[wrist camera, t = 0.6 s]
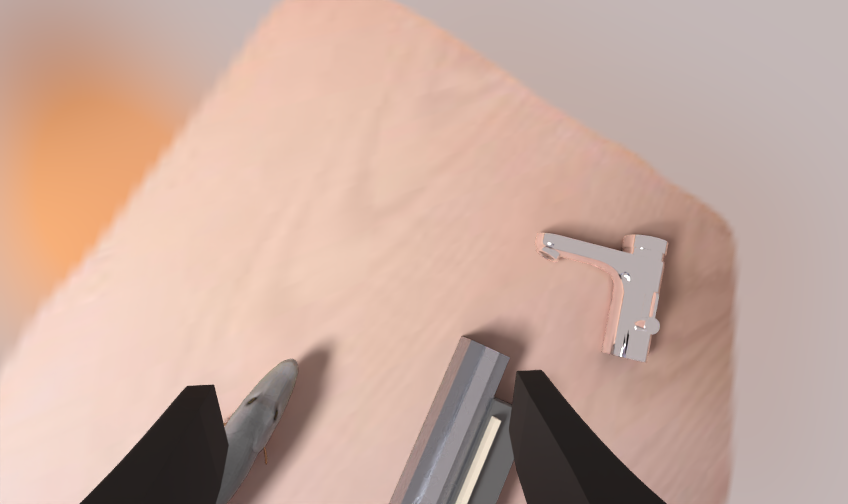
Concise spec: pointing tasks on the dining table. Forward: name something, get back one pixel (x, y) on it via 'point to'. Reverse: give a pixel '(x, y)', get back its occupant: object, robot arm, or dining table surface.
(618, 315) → the silver l-shaped piece
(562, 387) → the dining table surface
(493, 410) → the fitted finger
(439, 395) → the rail
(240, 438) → the fish
